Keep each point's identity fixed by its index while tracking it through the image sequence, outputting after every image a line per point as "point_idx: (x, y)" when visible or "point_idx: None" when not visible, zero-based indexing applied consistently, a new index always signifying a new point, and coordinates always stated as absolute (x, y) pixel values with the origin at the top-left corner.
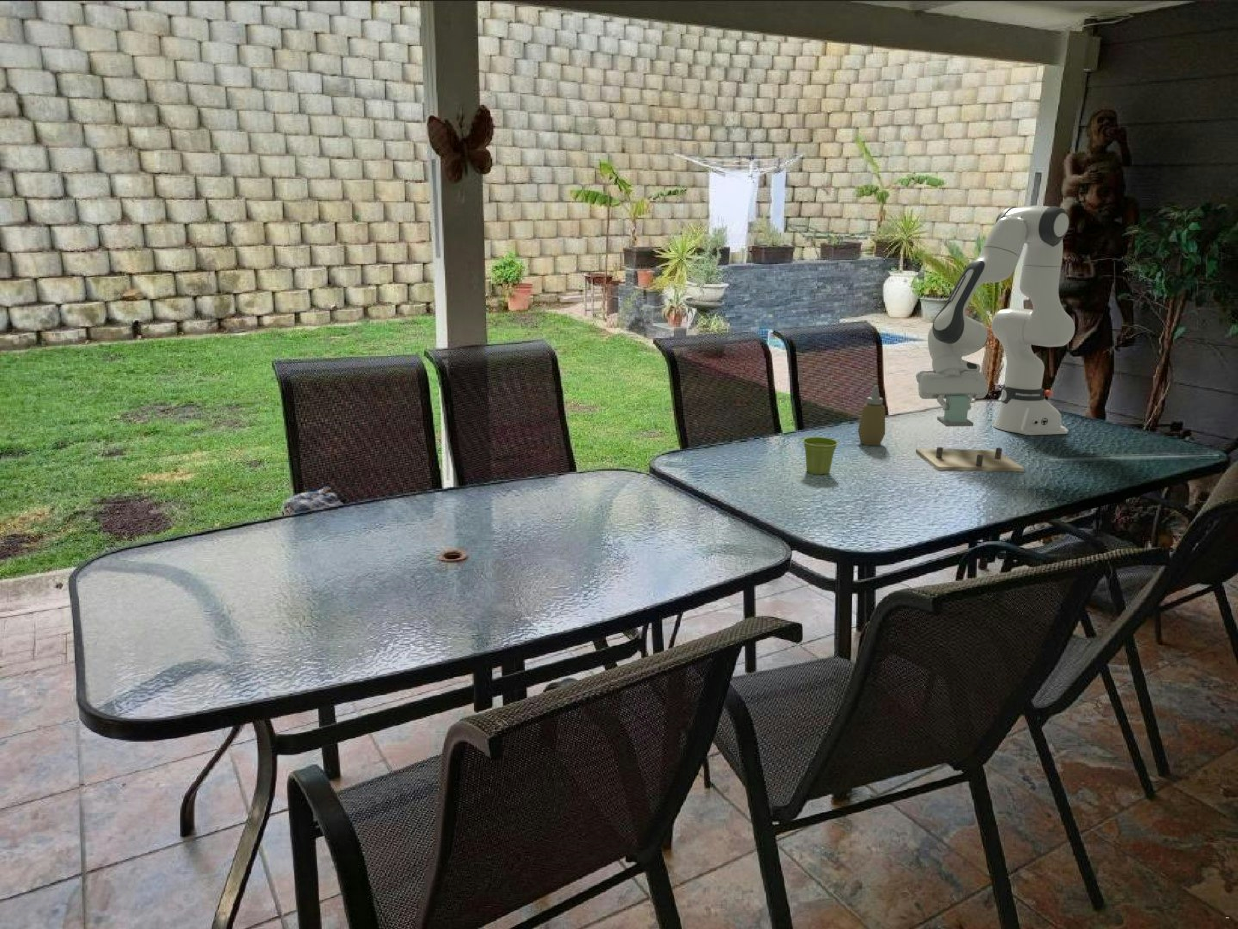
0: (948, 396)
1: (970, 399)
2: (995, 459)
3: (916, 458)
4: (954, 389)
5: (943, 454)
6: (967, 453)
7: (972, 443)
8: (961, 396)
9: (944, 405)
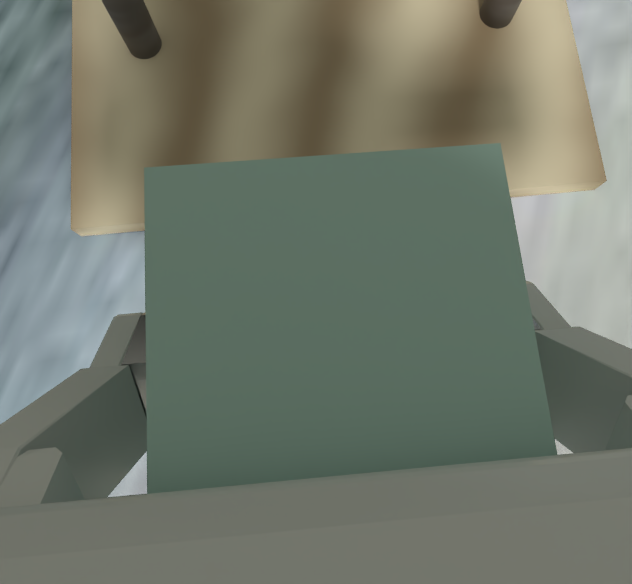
0: (537, 395)
1: (45, 410)
2: (166, 25)
3: (605, 64)
4: (423, 568)
5: (452, 82)
6: (294, 125)
7: (143, 483)
8: (229, 415)
9: (543, 299)
